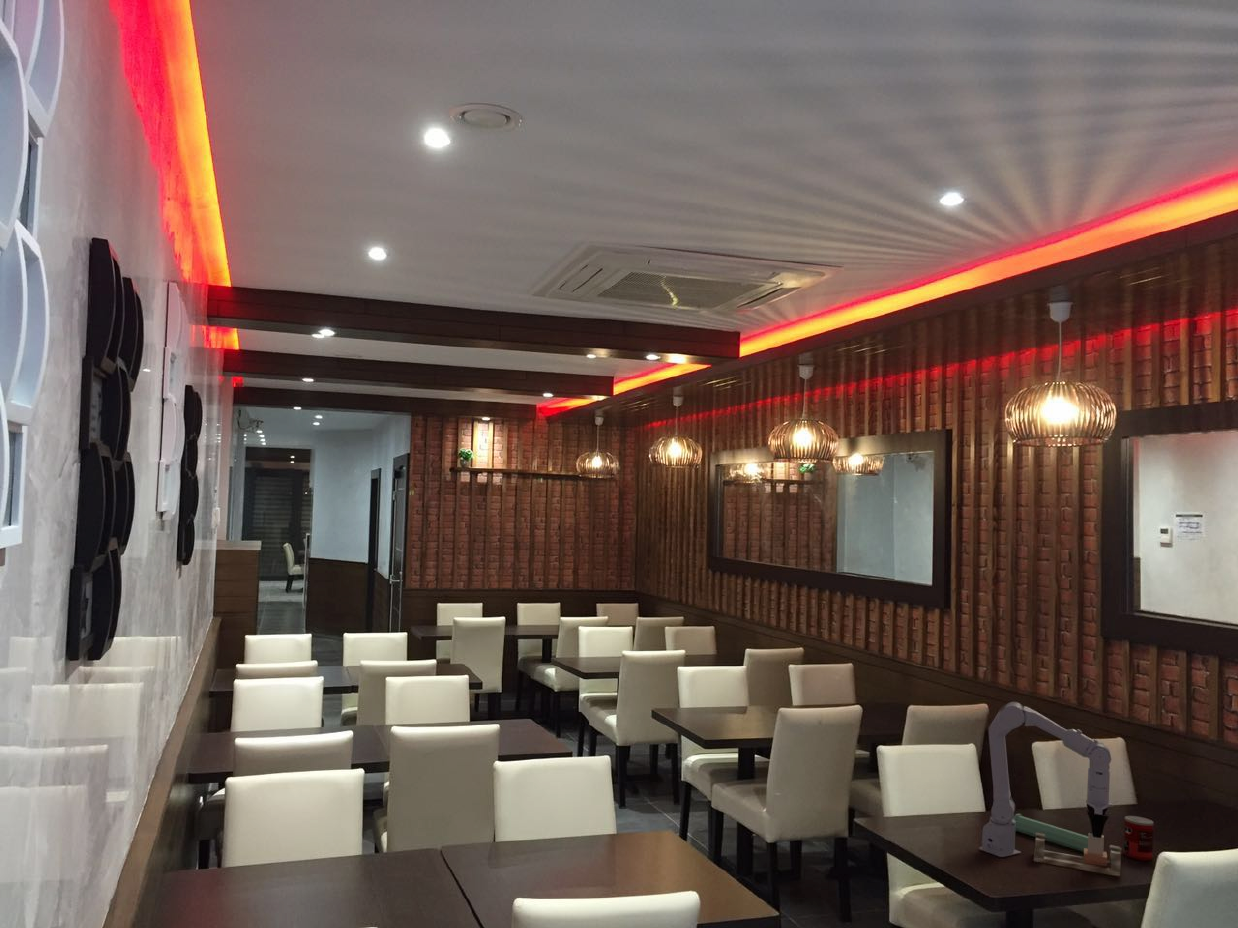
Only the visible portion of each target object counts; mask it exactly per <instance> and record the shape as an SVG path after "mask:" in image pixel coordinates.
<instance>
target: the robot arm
mask: <svg viewBox="0 0 1238 928" xmlns="http://www.w3.org/2000/svg"><path fill="white" fill-rule="evenodd" d="M994 717H995V718H994V719H993V720H992V722H991V723H990V725H989V726H988V742H989V750H990V751H989V752H990V764H991V775H992V776H991V777H992V785H993V786H992V787H993V802H992V807H991V815H990V818H989V821H988V822H987V823H986V824H984V825H983V828H982V835H981V836H982V837H981V846H980V847H979V850H980V851H983V852H986V853H988V854H992V855H994V856H997V857H1000V858H1004V857H1005V858H1006V857H1010V856H1015V855H1020V854H1021V853H1022V851H1020V850H1018V849H1015V847H1016V832H1015V826H1016V821H1015V820H1014V819H1013V817H1014V815H1015V810H1016V804H1015V802H1014V799H1013V798H1012V796H1011V789H1010V778H1009V768H1008V756H1007V744H1006V736H1007V734H1008V733H1010V732H1011V730H1013V729H1016V728H1019V727H1020V726H1022V725H1023V724H1024V727H1033V726H1035V727H1036V728H1037V727H1038V728H1039V729H1041V730H1043V731H1045V732H1046V733H1048V734H1050V735H1053V736H1054V737H1057V738H1058V739H1060V740H1061V741H1062V745H1063V746H1064V747H1066V748H1067V749H1068V750H1070V751H1072V752H1074V753H1076V754H1078V755H1080V756H1082V757H1083V758H1087V759H1089V764H1088V765H1089V766H1088V769H1087V793H1086V801H1085V803H1086V807H1087V810H1086V813H1087V816H1088V817H1089V821H1090V826H1091V834H1093V837H1096V838H1101V837H1102V835H1103V833H1104V828H1105V825H1106V823H1107V820H1108V819H1109V817H1110V816H1109V814H1108V813H1107V814H1106V812H1107V810H1108V808H1113V807H1114V803H1112V802H1109V801H1110V783H1111V782H1110V777H1111V775H1110V774H1111V772H1110V769H1111V768H1110V767H1111V766H1110V763H1111V762H1112V755H1111V752H1110V749H1109V748H1108V746H1106V745H1105V744H1104V743H1103V742H1099V740H1098V739H1096V738H1094V739H1093V738H1090V737H1089V736H1087V735H1085V734H1083V731H1082V730H1081V729H1079V728H1077V729H1074V728H1070V729H1066V728H1065V727H1063V726H1061V725H1060V724H1057V723H1056V722H1055V721H1053V720H1051V719H1049V718H1048V717H1046V716H1044V715H1043V714H1042V713H1039V712H1038V711H1036V710H1035V709H1032V708H1030V707H1029V706H1025V705H1022V704H1021V703H1020V702H1017V701H1010V702H1008V703H1006V704H1005V705H1003V707H1001V708H1000V709H999V711H998V713H996V715H995V716H994Z"/></svg>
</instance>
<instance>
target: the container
mask: <svg viewBox="0 0 1238 928" xmlns="http://www.w3.org/2000/svg"><path fill="white" fill-rule="evenodd" d="M1013 819H1014V820H1015V821H1016V826H1015V833H1018V832H1019V833H1022V834H1025V835H1027V836H1031V837H1035V834H1036V833H1041V834H1045V835H1046V838H1045V841H1047V842H1051V843H1054V844H1057V845H1059V846H1062V847H1067V848H1069V849H1072V850H1075V851H1080V852H1083V853H1084V848H1086V849H1088V835H1085V834H1081V833H1080V832H1079V833H1078V832H1075V831H1072V830H1069V829H1065V828H1062V827H1059V826H1055V825H1052V824H1048V823H1046V822H1042V821H1039V820H1036V819H1032V818H1030V817H1026V816H1023V815H1022V813H1016V814H1015V813H1014V817H1013ZM1035 838H1036V837H1035Z"/></svg>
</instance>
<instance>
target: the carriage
mask: <svg viewBox="0 0 1238 928" xmlns="http://www.w3.org/2000/svg"><path fill="white" fill-rule="evenodd" d="M1087 836H1088V849H1086V848H1084V852H1083V857H1084V863H1089V864H1095V865H1101V866H1106V867H1107V861H1108V854H1107V851H1104V847H1105V846H1104V842H1105V841H1104V839H1105V836H1104V834H1102V837H1101V838H1096V837H1093V834H1092V832H1091V833H1090V832H1088V835H1087Z"/></svg>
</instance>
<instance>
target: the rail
mask: <svg viewBox="0 0 1238 928" xmlns="http://www.w3.org/2000/svg"><path fill="white" fill-rule="evenodd" d="M1045 838H1046V835H1045V834H1041V833H1036V834H1035V849H1034V853H1033V862H1036V863H1043V864H1048V865H1053V866H1054V865H1055V866H1060V867H1065V868H1071V869H1076V870H1083V871H1087V872H1094V873H1099V874H1105V875H1109V876H1116V877H1121V863H1122V862H1121V861H1122V860H1121V857H1122V856H1121V852H1122V850H1123V848H1122V847H1120V846H1117V845H1113V844H1110V845H1109V846H1108V847H1109V860H1107V867H1106V866H1101V865H1095V864H1089V863H1084V856H1080V855H1074V854H1069V853H1068V854H1067V853H1062V852H1059V851H1051V850H1047V849H1045V841H1046V840H1045Z"/></svg>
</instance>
